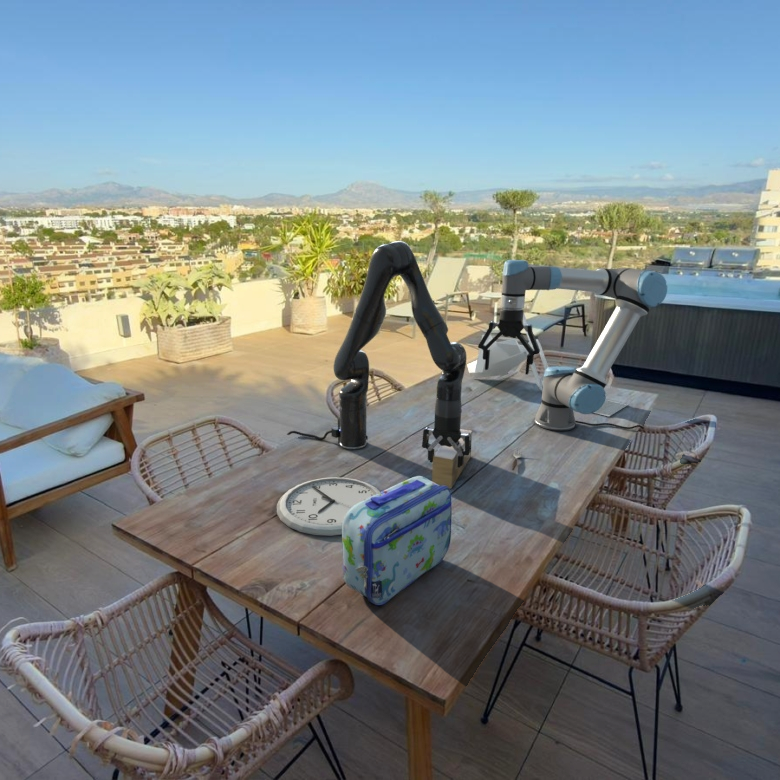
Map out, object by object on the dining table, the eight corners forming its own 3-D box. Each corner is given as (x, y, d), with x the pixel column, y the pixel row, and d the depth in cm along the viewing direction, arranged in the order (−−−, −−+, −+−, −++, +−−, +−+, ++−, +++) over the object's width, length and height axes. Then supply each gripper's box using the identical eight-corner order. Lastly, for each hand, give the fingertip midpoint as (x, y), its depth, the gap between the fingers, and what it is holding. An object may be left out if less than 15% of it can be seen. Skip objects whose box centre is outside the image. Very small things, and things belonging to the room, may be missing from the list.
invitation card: (608, 416, 214) (573, 407, 224) (608, 416, 214) (573, 408, 224) (628, 404, 229) (594, 396, 238) (628, 405, 229) (594, 397, 238)
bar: (453, 453, 177) (455, 427, 174) (470, 456, 175) (472, 430, 172) (431, 485, 155) (433, 456, 152) (451, 488, 153) (452, 459, 150)
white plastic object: (488, 420, 264) (468, 397, 239) (469, 347, 286) (449, 319, 261) (560, 396, 252) (546, 369, 227) (534, 322, 274) (519, 290, 249)
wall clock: (392, 527, 129) (268, 531, 127) (391, 533, 130) (269, 537, 127) (383, 473, 158) (282, 475, 155) (383, 478, 158) (282, 480, 156)
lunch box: (371, 618, 102) (371, 524, 95) (336, 591, 109) (334, 502, 103) (455, 562, 119) (460, 479, 113) (420, 542, 126) (423, 463, 120)
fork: (508, 471, 164) (508, 465, 164) (514, 451, 179) (515, 446, 178) (516, 472, 164) (517, 466, 163) (522, 452, 178) (523, 447, 177)
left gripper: (420, 413, 149) (418, 464, 154) (469, 420, 144) (465, 473, 149) (428, 405, 156) (426, 455, 161) (475, 411, 151) (472, 463, 156)
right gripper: (471, 307, 172) (467, 369, 178) (550, 313, 163) (543, 378, 170) (476, 304, 179) (473, 364, 185) (552, 309, 170) (545, 372, 176)
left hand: (445, 464), depth 155 cm, fingers open, 8 cm apart
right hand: (506, 371), depth 177 cm, fingers open, 13 cm apart
